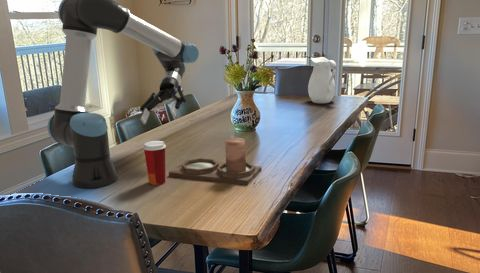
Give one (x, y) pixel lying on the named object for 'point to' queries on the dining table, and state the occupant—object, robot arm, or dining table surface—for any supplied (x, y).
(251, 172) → the wooden cup holder tray
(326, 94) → the pitcher
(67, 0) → the robot arm
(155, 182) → the paper cup
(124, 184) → the dining table surface
